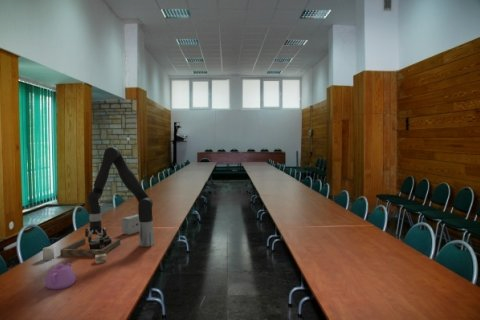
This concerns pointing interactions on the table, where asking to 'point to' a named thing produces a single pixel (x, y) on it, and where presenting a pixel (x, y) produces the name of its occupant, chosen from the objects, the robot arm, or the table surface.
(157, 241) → the table surface
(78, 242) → the corral
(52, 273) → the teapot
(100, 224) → the robot arm
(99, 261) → the birch block
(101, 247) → the camera
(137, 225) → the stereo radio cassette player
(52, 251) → the white capsule cylinder
